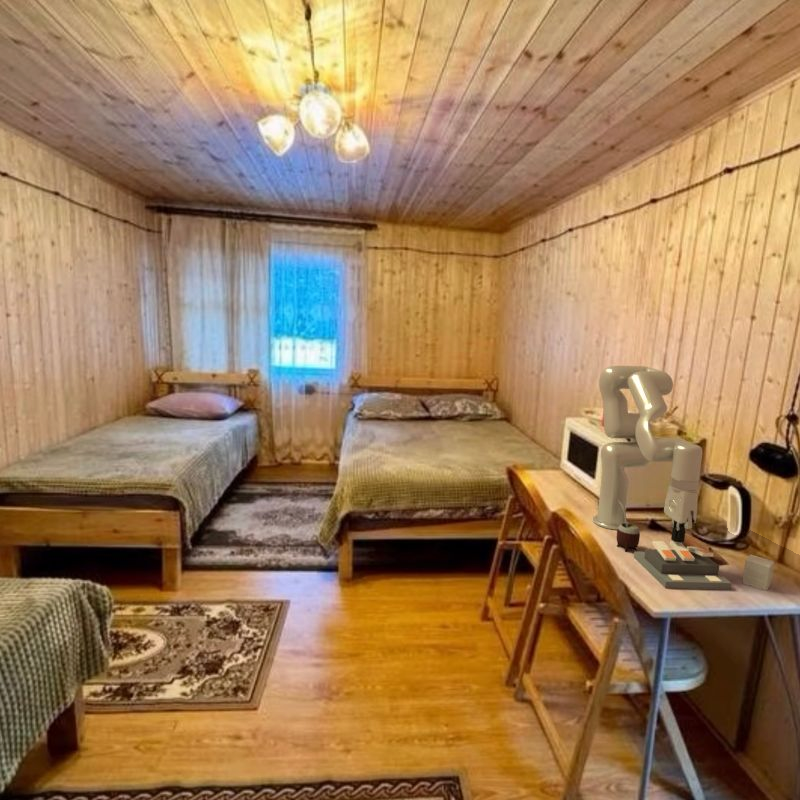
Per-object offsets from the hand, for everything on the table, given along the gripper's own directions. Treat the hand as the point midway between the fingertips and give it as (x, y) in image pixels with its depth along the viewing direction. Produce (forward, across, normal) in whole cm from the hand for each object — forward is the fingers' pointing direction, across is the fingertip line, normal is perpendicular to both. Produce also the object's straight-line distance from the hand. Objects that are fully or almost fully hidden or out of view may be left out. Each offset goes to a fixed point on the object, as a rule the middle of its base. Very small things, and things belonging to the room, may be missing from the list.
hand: (677, 541), depth 154 cm
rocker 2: (+3, +3, +5) cm, 7 cm away
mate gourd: (+9, -14, -9) cm, 19 cm away
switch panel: (+9, +3, 0) cm, 9 cm away
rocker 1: (+3, +2, -6) cm, 7 cm away
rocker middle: (+3, +2, 0) cm, 4 cm away
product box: (+9, +8, +20) cm, 24 cm away
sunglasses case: (+10, -12, +16) cm, 22 cm away
